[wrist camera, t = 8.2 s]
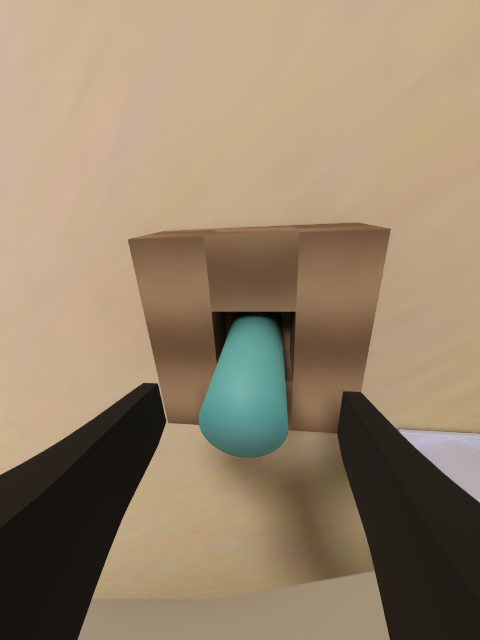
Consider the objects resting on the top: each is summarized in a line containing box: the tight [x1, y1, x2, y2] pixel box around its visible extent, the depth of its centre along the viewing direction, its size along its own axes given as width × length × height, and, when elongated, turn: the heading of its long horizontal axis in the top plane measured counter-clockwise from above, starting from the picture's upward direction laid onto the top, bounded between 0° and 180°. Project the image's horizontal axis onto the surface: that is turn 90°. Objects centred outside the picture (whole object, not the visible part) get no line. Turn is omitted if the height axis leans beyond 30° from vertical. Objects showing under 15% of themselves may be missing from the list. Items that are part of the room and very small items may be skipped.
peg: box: [199, 312, 288, 457], centre depth 13 cm, size 3×3×9 cm
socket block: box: [128, 223, 391, 433], centre depth 16 cm, size 12×12×4 cm
